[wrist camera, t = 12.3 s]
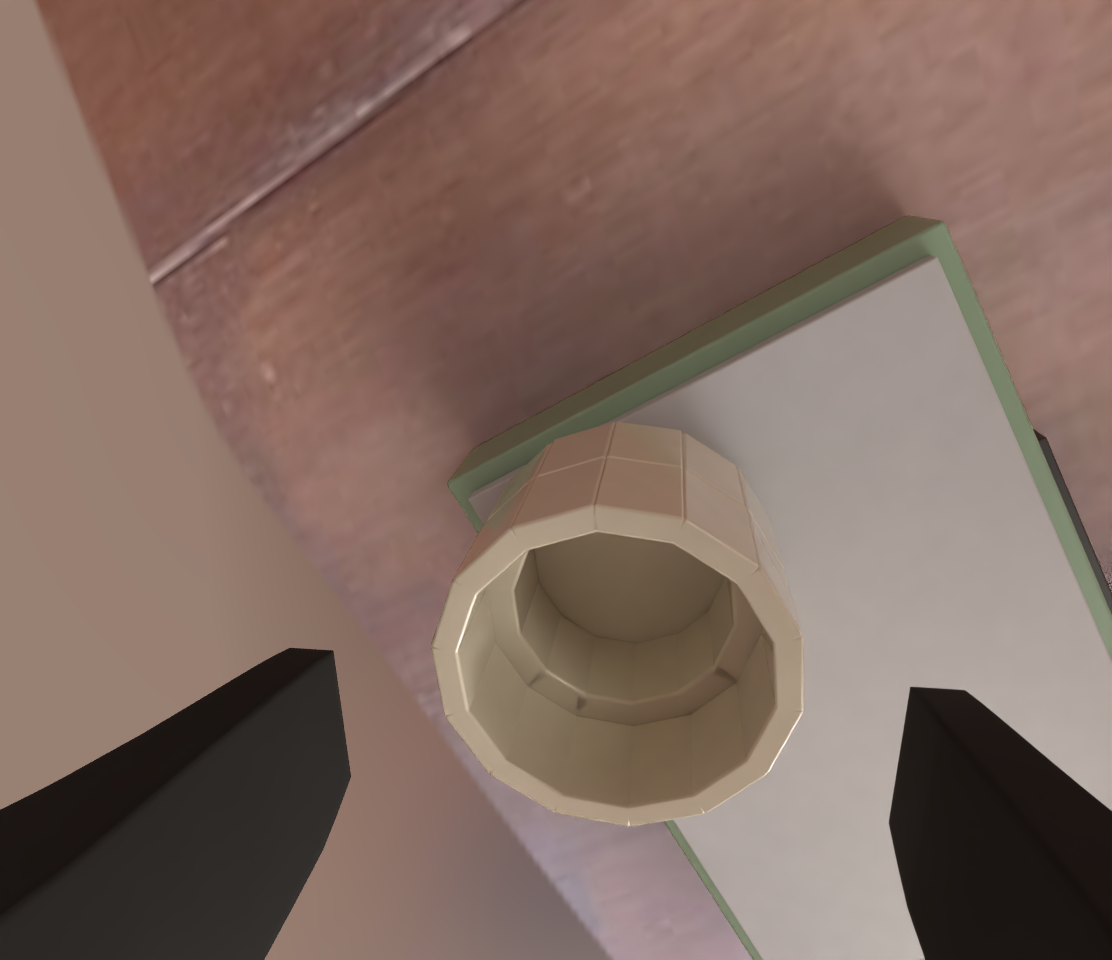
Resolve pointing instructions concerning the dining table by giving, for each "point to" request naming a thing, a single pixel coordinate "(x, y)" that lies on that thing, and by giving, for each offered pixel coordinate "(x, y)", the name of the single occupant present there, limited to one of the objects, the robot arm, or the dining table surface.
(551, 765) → the small beige cup
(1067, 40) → the dining table surface
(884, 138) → the dining table surface
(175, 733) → the robot arm
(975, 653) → the scale
